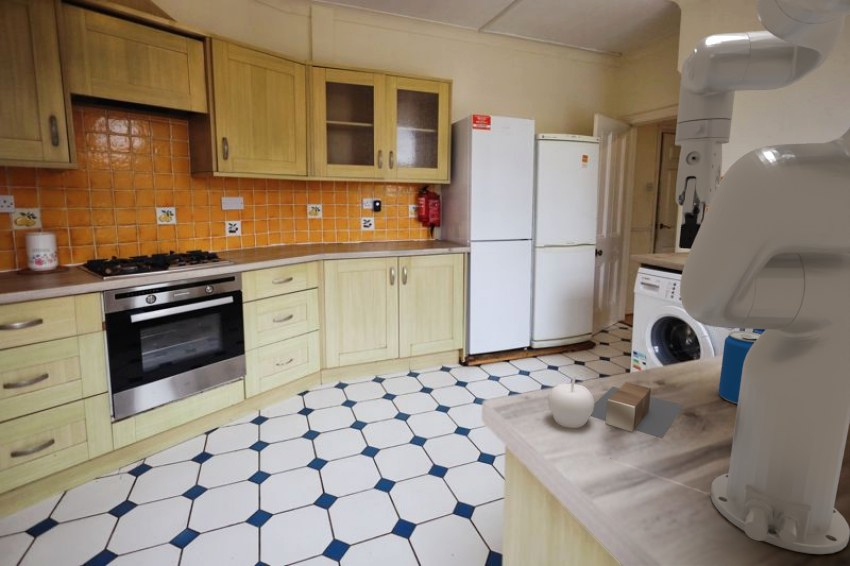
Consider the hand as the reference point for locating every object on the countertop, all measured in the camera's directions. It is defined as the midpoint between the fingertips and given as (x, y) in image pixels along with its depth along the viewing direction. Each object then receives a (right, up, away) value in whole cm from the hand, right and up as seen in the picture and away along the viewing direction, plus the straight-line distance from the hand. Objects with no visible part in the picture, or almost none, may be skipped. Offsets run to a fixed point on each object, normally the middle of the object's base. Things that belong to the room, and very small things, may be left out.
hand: (690, 248), depth 77 cm
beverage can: (+11, -27, +4) cm, 29 cm away
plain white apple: (-21, -29, -3) cm, 36 cm away
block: (-9, -25, +1) cm, 27 cm away
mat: (-9, -28, 0) cm, 29 cm away
